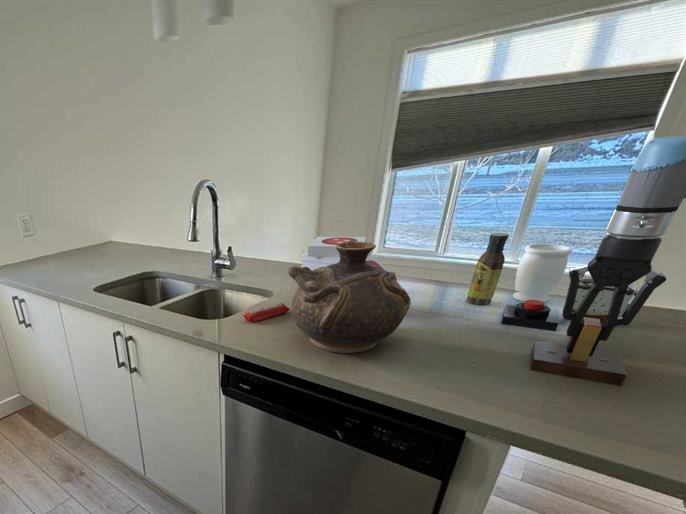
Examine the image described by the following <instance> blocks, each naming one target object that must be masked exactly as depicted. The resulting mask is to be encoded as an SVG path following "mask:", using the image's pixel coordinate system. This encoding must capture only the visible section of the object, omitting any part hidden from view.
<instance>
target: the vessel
mask: <svg viewBox="0 0 686 514" xmlns="http://www.w3.org/2000/svg"><path fill="white" fill-rule="evenodd" d="M335 247H336V249H337V250H338V252H339V254H340V260H339V262H338V263H336V264H332V265H329V266H326V267H320V268H317V269H315V270H313V271H312V270H311V269H310V268H308V267H302V266H301V267H299V266H297V265H296V266H295V265H292V266H290V267H289V268H288V269H287V274H288V275H289V277H290V278H292V279H293V280H294V281H295V283H297V288H296V290H295V292H294V295H293V298H292V301H291V314H292V317H293V321H294V323H295V325H296V326H297V328H298V329H299V331H301V332H302V334H304V335H305V336H306V337H308V338H309V341H310V343H312V345H314V346H315V347H318V348H319V349H322V350H323V351H327V352H332V353H336V354H337V353H338V354H355V353H361V352H366V351H369V350H371V349H373V348H375V346H376V345H377V343H379V342H380V341H382V340H384V339H386V338H388V336H390V335H392V334H393V333H394V332H395V331H396V330H397V329H398V328H399V326H400V325H401V324H402V322H403V321H404V319H405V316H406V315H407V313H408V311H409V310H410V306H411V297H410V295H409V293H408V292H407V291H406V289H405V288H404V289H405V290H404V289H402V288H401V287H400V286H399V284H400V283H399V282H398V283H399V284H398V283H397V281H398V280H397V276H396V273H395V272H394V271H389V272H387V271H385V270H383V269H380V268H378V267H373V266H371V265H368V264H366V258H367V256H368V254H369V255H370V253H371V252H372V251H373V250H375V249H376V248H377V245H376V244H375V243H372V242H368V241H365V242H344V243H339V244H337V245H336V246H335Z"/></svg>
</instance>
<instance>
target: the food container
mask: <svg viewBox="0 0 686 514" xmlns="http://www.w3.org/2000/svg"><path fill="white" fill-rule="evenodd" d="M593 282H594V281H593V279H592V278H581V279H579V287H578V290H577V294H576V298H575V302H574V306H573V309H572V312H575V311H576V310H577V308H578V307H579V305H580V303H581V302H582V300H583V299H584V297H585V295H586V294H587V292H588V291H589V289H590V287H591V285H592V283H593ZM614 291H615V287H613V286H605V287H603V288H602V290H601V291H600V292H599V294H598V295H597V297H596V298H595V300H594V301H593V303H592V305H591V306H590V308H589V309H588V311H587V312H586V314H585V315H584V317H585V318H594V319H600V322H606V318H607V315H608V311H609V308H610V305H611V301H612V298H613V295H614ZM638 291H639V290H638V287H637V286H636V285H634V284H633V283H632V284H630V285H628V288H627V291H626V293H625V296H624V299H623V303H622V306H621V309H620V313H619V316H618V317H621V316H622V314H623V313H624V311H625V310H626V309H625V308H627V307H628V305H629V304H630V302H631V301H632V298H634V297H635V296H636V294H637V293H638ZM584 317H583V318H584ZM582 320H583V319H582ZM562 321H567V322H568V321H569V322H571V320H570V319H567V318H564V317H563V319H562Z"/></svg>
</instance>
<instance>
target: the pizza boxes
mask: <svg viewBox="0 0 686 514" xmlns="http://www.w3.org/2000/svg"><path fill="white" fill-rule="evenodd" d="M366 238H367V237H366V236H319V235H318V236H317V237H316V238H315V239H314V240H313V241H312V242H311V243H310V244H308V247H307V252H305V253H302V258H301V268H302V267H308V268H310V269H311V270H312V271H313V270H315V269H317V268H320V267H326V266H329V265H332V264H336V263H338V262H339V260H340V254H339V252H338V250H337V249H336V247H335V246H336V245H337V244H339V243H344V242H366V240H367V239H366ZM366 264H368V265H371V266H373V267H378V268H380V269H383V270H385V271H387V272H390V271H389V270H388V268H386V267H385V265H384V264H383V263H382V262H381V261H380V260H379V259H378V257H377V256H376V255H375V254H373V255H371V256H370V253H369V254H368V256H367V258H366ZM397 283H398V284H399V286H400V287H401V288H402V289H404V290H405V291H406V289H405V288H404V287H403V285H402V284H401V283H400V282H399V281H398V280H397Z"/></svg>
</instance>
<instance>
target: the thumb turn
mask: <svg viewBox="0 0 686 514" xmlns="http://www.w3.org/2000/svg"><path fill="white" fill-rule="evenodd" d="M583 320H584V327H583V329H582V331H581V333H580V335H579V338H578V340H577V342H576V344H575V346H574V349H573V351H572V353H570V360H576V361H582V362H586V360H587V358H588V356H589V354H590V352H591V350H592V347H593V345H594V343H595V341H596V339H597V337H598V335H599V333H600V331H601V329H602V328H601V324H600V319H594V318H585V317H584V318H583Z"/></svg>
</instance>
